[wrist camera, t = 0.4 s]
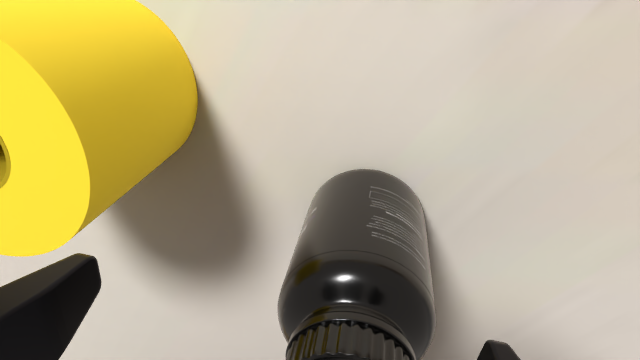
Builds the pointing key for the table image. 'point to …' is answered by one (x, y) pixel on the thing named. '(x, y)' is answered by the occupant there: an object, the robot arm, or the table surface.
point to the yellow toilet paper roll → (83, 112)
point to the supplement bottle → (360, 274)
